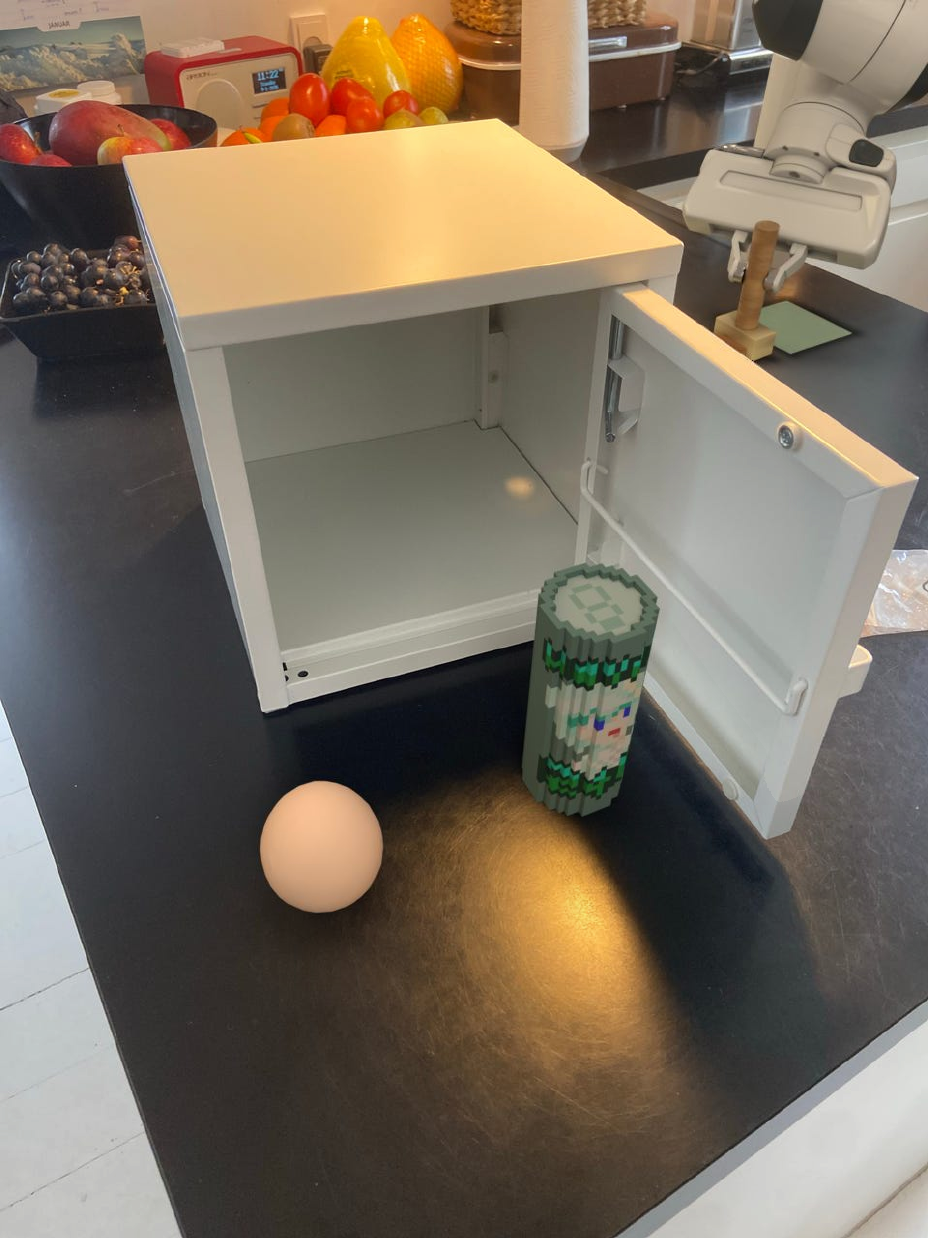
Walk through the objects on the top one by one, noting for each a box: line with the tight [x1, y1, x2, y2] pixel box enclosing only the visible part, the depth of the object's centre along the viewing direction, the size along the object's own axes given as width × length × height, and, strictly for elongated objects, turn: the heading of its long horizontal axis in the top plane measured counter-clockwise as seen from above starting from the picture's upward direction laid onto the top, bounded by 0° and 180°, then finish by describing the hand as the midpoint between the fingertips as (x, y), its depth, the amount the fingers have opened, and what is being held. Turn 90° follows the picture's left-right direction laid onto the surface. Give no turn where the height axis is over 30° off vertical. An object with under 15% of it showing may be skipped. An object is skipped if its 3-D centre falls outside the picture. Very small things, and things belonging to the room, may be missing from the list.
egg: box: [259, 780, 384, 914], centre depth 50 cm, size 7×7×8 cm
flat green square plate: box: [759, 300, 853, 355], centre depth 105 cm, size 10×10×1 cm
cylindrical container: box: [726, 52, 803, 274], centre depth 108 cm, size 7×7×25 cm
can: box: [521, 562, 661, 817], centre depth 53 cm, size 6×6×15 cm
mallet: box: [713, 220, 780, 362], centre depth 94 cm, size 6×3×13 cm, turn 31°
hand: (753, 285), depth 93 cm, fingers closed on mallet, 2 cm apart
